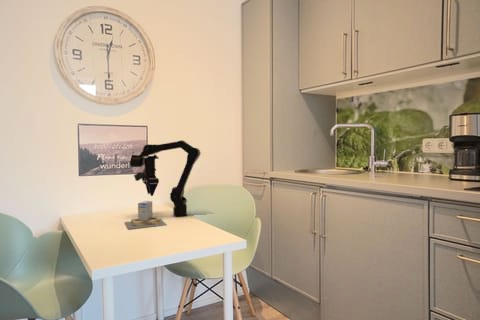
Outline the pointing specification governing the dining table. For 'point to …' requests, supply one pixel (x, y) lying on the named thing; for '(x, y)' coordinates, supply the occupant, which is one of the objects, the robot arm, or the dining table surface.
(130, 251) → the dining table surface
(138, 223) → the slot frame
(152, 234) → the dining table surface
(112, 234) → the dining table surface
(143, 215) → the medicine box
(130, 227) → the mat
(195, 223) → the dining table surface
